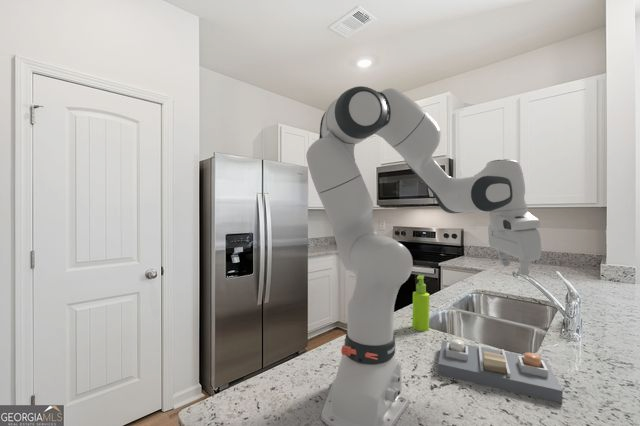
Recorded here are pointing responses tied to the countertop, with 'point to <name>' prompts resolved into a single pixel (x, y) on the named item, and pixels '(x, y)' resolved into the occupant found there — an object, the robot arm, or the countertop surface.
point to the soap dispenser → (420, 306)
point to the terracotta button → (532, 360)
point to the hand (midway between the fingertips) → (514, 269)
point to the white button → (457, 345)
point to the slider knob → (494, 362)
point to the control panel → (514, 380)
